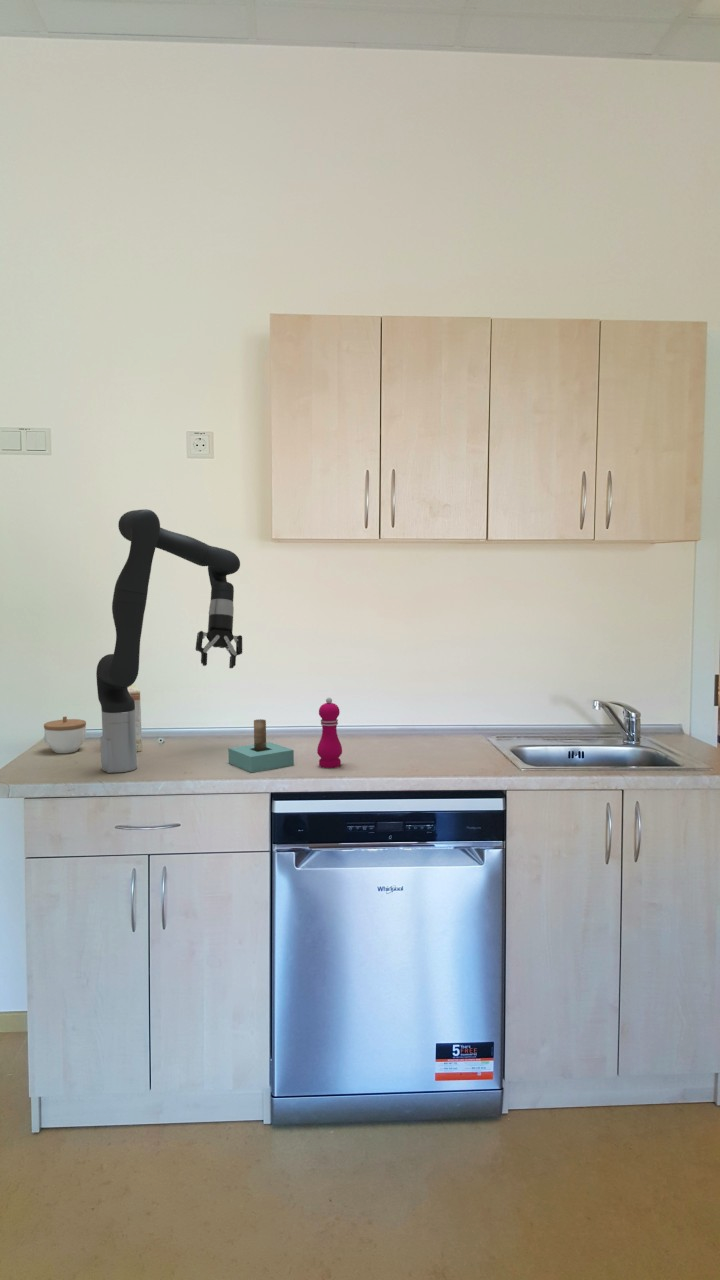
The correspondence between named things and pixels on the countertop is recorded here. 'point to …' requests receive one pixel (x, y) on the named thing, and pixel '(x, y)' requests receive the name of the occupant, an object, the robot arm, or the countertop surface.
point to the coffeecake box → (137, 715)
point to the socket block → (261, 757)
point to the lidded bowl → (65, 734)
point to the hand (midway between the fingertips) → (218, 666)
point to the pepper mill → (329, 736)
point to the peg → (259, 735)
